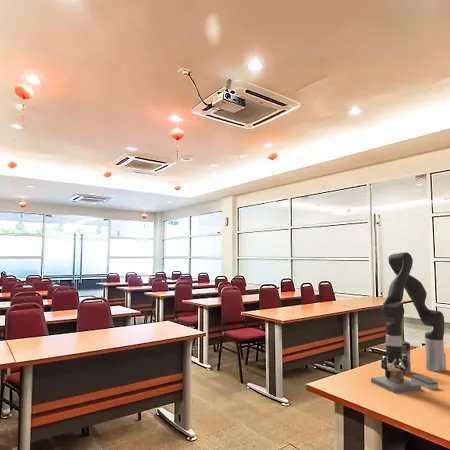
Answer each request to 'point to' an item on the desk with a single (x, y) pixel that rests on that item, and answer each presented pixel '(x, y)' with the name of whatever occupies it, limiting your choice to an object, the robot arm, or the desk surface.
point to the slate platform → (396, 385)
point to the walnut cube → (396, 376)
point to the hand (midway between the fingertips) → (395, 377)
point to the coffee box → (407, 352)
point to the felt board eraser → (424, 382)
